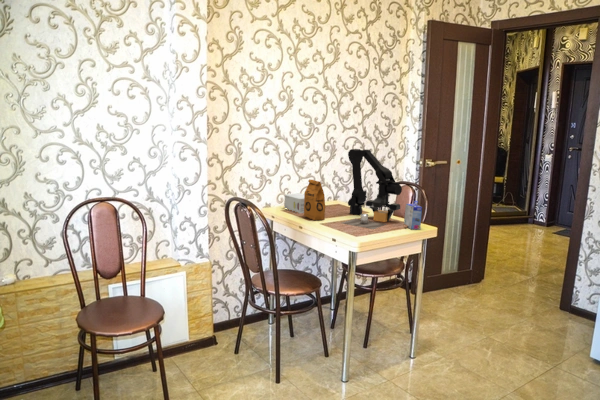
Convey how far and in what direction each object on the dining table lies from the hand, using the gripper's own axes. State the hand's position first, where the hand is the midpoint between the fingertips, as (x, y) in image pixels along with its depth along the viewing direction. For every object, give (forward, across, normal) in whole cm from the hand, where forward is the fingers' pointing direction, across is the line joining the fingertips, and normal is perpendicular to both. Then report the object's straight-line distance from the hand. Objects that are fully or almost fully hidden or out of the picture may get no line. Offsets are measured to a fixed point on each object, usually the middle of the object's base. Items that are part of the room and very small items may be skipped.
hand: (381, 220), depth 250 cm
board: (+1, -3, -15) cm, 15 cm away
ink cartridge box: (+2, +18, 0) cm, 18 cm away
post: (0, -3, -15) cm, 15 cm away
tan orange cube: (+1, 0, 0) cm, 1 cm away
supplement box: (+2, -54, -5) cm, 54 cm away
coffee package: (+2, -33, -19) cm, 38 cm away
